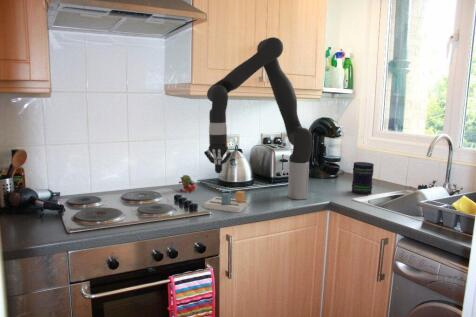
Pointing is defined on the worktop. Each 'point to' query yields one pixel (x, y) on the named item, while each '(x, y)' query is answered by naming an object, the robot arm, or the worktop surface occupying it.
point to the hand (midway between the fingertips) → (218, 172)
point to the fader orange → (240, 196)
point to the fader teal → (226, 198)
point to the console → (226, 205)
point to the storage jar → (362, 178)
